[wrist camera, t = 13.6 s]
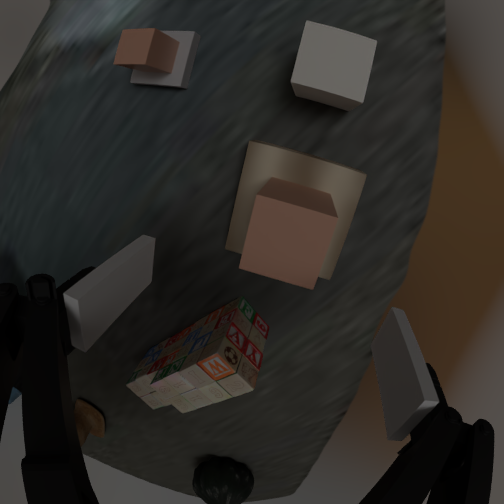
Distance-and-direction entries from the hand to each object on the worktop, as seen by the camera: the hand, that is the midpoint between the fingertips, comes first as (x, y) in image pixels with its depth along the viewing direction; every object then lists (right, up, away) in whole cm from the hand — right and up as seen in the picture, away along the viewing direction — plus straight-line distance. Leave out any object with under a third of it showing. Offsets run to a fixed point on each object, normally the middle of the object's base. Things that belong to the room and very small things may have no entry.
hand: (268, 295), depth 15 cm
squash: (-7, -51, +45) cm, 68 cm away
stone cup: (-46, -42, +49) cm, 79 cm away
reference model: (-11, +25, +14) cm, 31 cm away
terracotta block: (+3, +6, +15) cm, 16 cm away
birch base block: (+4, +8, +18) cm, 20 cm away
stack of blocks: (-8, -11, +29) cm, 32 cm away
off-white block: (+7, +21, +12) cm, 25 cm away
